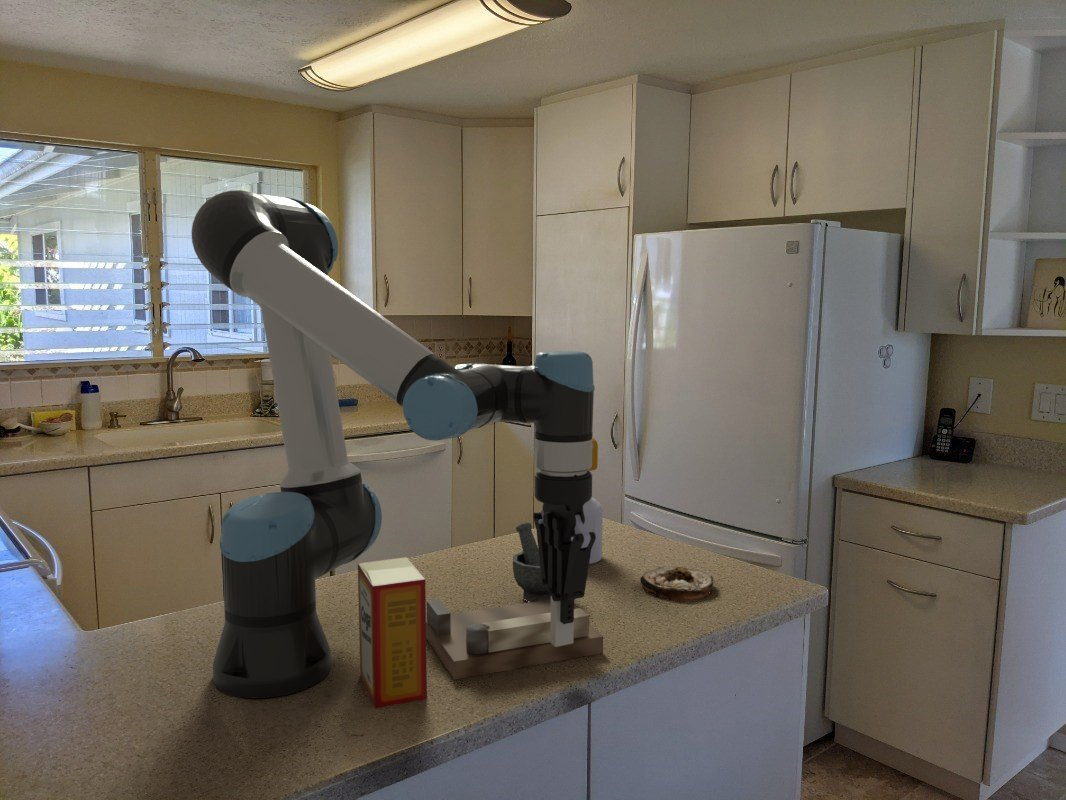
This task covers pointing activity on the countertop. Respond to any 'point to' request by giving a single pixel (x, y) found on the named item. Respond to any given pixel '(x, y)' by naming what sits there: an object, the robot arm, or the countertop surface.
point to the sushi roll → (677, 583)
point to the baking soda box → (392, 631)
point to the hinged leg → (518, 632)
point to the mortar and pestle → (529, 566)
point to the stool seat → (451, 649)
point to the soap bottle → (594, 514)
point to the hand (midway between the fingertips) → (561, 642)
